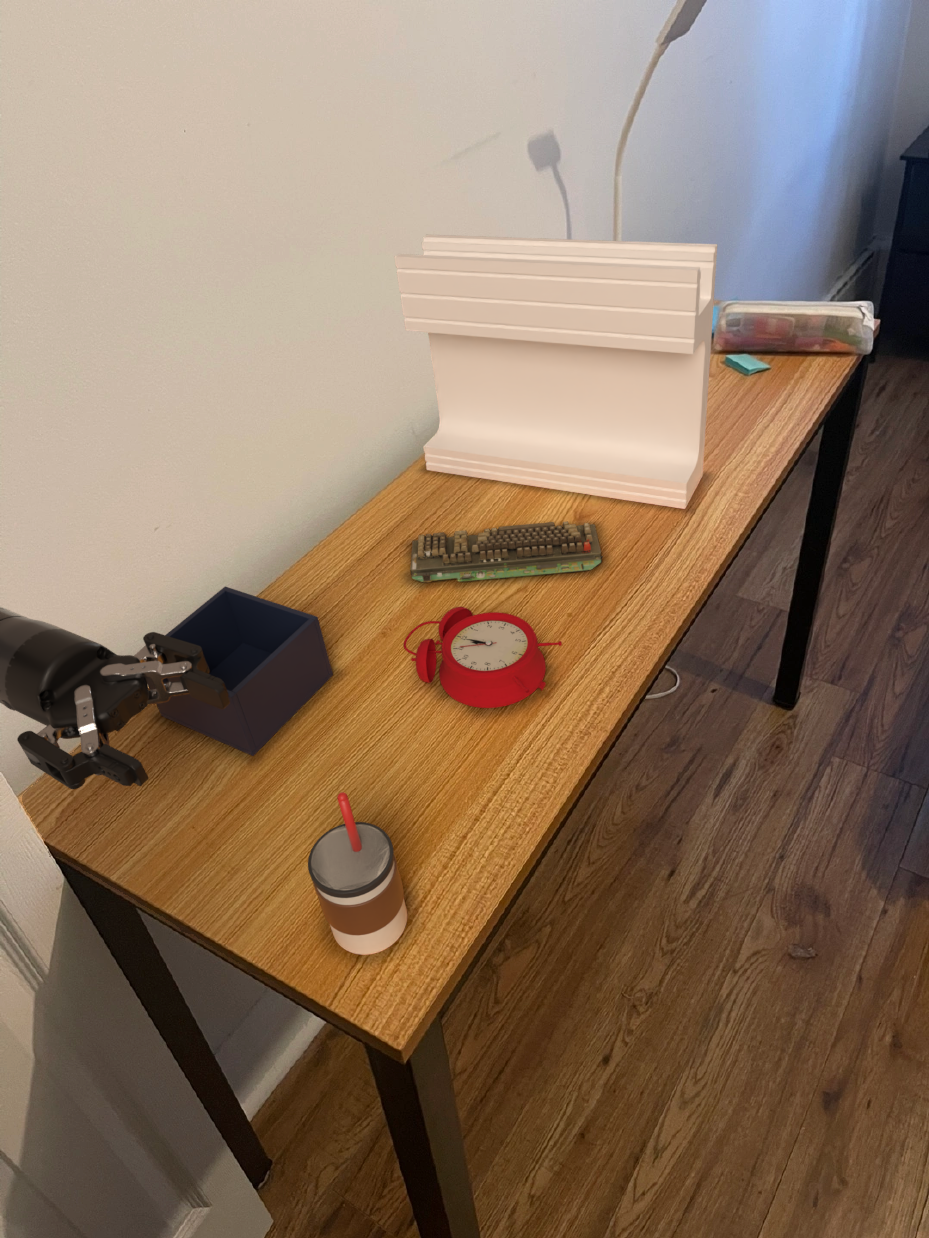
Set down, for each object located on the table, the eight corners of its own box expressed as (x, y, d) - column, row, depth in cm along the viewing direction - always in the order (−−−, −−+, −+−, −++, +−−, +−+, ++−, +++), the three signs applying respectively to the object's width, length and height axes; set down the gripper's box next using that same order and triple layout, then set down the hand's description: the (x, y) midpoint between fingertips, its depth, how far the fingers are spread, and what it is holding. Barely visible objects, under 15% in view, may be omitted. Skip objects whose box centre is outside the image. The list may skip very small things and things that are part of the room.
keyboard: (595, 526, 108) (595, 511, 106) (605, 571, 101) (604, 556, 99) (412, 542, 109) (410, 528, 108) (409, 587, 102) (406, 573, 101)
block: (702, 475, 114) (717, 244, 96) (685, 509, 108) (697, 270, 91) (453, 441, 128) (426, 234, 110) (426, 469, 122) (394, 256, 105)
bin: (253, 756, 84) (231, 697, 80) (161, 716, 90) (135, 658, 85) (333, 674, 92) (317, 616, 87) (244, 642, 98) (225, 586, 93)
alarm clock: (524, 698, 81) (382, 629, 85) (515, 740, 86) (381, 673, 90) (572, 628, 88) (438, 568, 92) (561, 671, 92) (434, 612, 97)
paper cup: (379, 970, 66) (342, 853, 57) (313, 935, 69) (270, 818, 60) (424, 905, 70) (397, 786, 61) (361, 874, 73) (326, 756, 64)
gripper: (-52, 693, 68) (92, 766, 60) (96, 587, 77) (237, 638, 69) (-9, 761, 73) (129, 836, 65) (126, 653, 82) (261, 708, 74)
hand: (185, 734), depth 67 cm, fingers open, 8 cm apart
